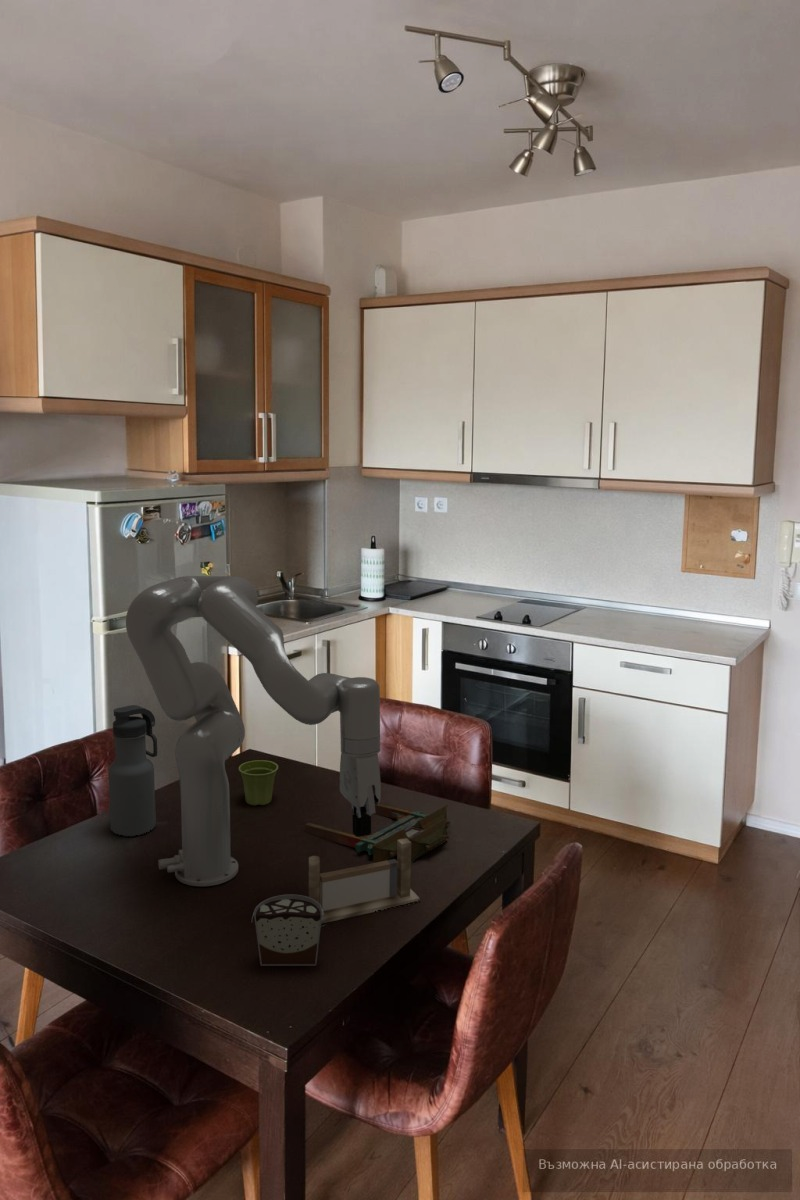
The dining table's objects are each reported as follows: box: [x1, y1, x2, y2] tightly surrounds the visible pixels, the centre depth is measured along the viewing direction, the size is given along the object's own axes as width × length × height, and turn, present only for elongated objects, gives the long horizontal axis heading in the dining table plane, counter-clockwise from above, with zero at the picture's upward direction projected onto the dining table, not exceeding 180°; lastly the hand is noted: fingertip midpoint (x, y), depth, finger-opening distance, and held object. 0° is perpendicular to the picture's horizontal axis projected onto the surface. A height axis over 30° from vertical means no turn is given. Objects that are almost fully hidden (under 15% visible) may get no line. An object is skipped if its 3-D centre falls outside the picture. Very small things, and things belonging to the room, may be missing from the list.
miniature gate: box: [304, 803, 451, 863], centre depth 205 cm, size 27×6×30 cm
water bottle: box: [107, 704, 158, 837], centre depth 204 cm, size 10×10×28 cm
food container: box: [250, 894, 326, 967], centre depth 157 cm, size 12×6×10 cm, turn 92°
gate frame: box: [308, 838, 421, 925], centre depth 173 cm, size 24×5×12 cm, turn 115°
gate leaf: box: [320, 858, 398, 911], centre depth 173 cm, size 15×2×7 cm, turn 115°
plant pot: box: [238, 759, 279, 806], centre depth 222 cm, size 9×9×9 cm
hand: (362, 834), depth 177 cm, fingers closed
